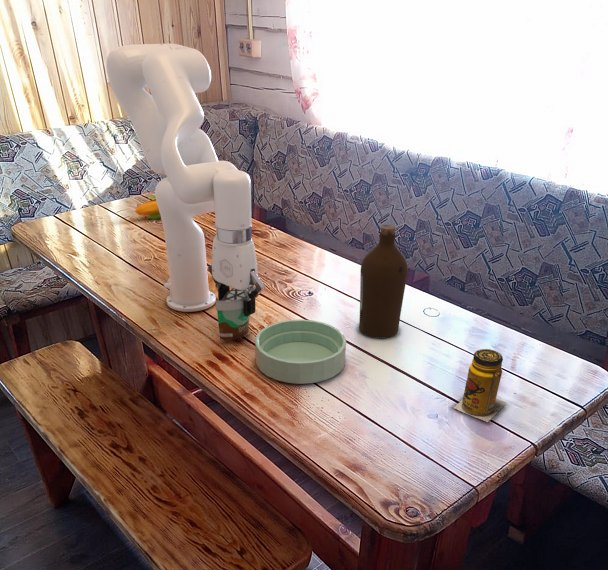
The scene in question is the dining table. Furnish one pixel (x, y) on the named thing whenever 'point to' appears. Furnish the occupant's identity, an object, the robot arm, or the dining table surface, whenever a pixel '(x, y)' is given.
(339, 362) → the bowl
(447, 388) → the dining table surface
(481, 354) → the condiment
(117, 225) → the dining table surface
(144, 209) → the corn
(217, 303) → the food container
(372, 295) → the olive oil
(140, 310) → the dining table surface
